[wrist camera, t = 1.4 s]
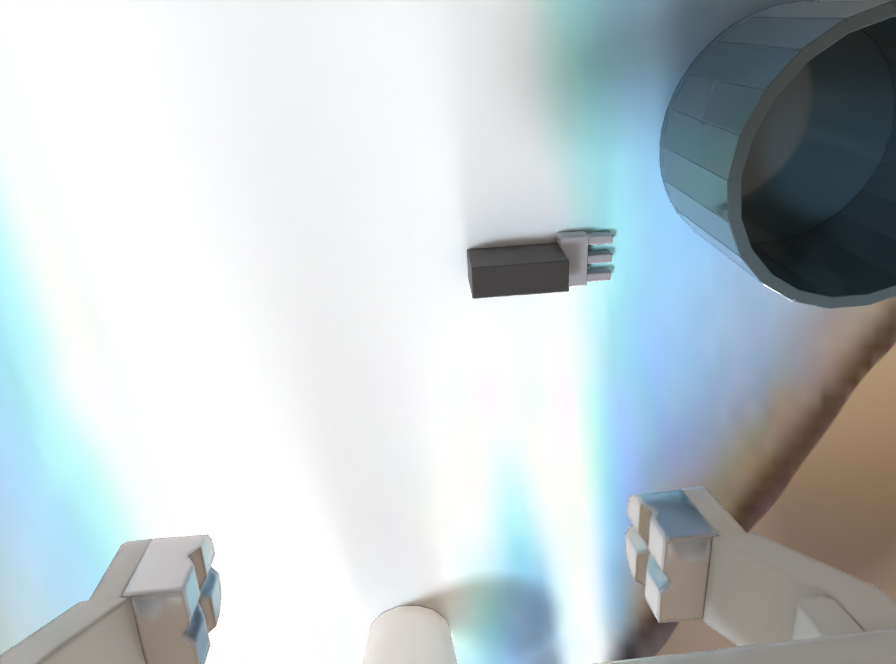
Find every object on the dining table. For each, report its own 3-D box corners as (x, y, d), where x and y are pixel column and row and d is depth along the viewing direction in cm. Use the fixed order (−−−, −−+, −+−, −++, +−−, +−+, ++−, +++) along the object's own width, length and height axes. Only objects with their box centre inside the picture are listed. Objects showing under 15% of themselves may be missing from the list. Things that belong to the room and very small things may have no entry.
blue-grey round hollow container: (668, 10, 32) (749, 9, 24) (926, -8, 32) (1086, -14, 25) (649, 256, 38) (710, 318, 30) (869, 239, 38) (984, 296, 30)
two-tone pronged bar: (468, 288, 38) (473, 309, 35) (466, 239, 37) (470, 257, 34) (606, 277, 38) (621, 297, 35) (609, 228, 37) (624, 245, 34)
